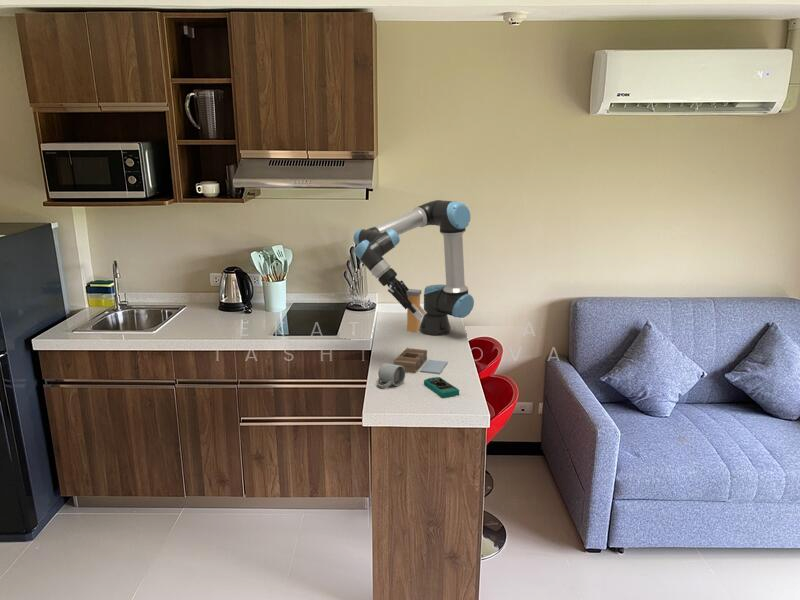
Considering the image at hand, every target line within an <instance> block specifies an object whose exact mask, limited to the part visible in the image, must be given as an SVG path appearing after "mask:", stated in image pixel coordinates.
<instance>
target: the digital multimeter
mask: <svg viewBox="0 0 800 600" xmlns="http://www.w3.org/2000/svg"><path fill="white" fill-rule="evenodd" d="M423 385H424V386H425V387H426V386H427V389H429V388H430V389H429V390H431V391H432V390H433V392H434V393H435V394H436V393H437V394H436V395H438V396H439V397H440V398H443V399H445V398H451V397H455V396H456V395H457V396H459V395H460V389H459V388H458V387H456V386H454V385H452V384H451V383H449V382H448V381H446V380H445V379H443V378H442V377H440V376H435V377H429V378H425V379H424V380H423Z"/></svg>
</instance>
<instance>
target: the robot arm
mask: <svg viewBox="0 0 800 600" xmlns="http://www.w3.org/2000/svg"><path fill="white" fill-rule="evenodd" d="M470 222H471V211H470V209H469V207H468V206H467V205H466V204H465V203H463V202H461V201H456V200H455V201H454V200H443V199H442V200H441V199H437V200H432V201H429V202H426V203H422V204H421V205H418V206H415V207H414V208H413V210H412V211H409V212H407V213H405V214H402V215H400V216H397V217H394V218H392V219H389V220H386V221H385V222H383V223H380V224H377V225H375V226H372V227H369V228H368V229H364V228H363V229H361V228H360V229H357V230H356V231H355V232H354V234H353V242H354V244H355V245H356V246H355V248H354V249H353V252H354V254H355V256H356V257H357V258H358V260H359V261H360V262H362V263H363V265H364V266H365V267H366V269H368V270H369V272H370V273H371V275H372V276H373V277H375V278H376V279H378V282H379V283H380V284H381V285H382V286H383V287H385V286H387V288H388V289H387V292H388V293H390V294H391V295H392V296H393V297H394V298H395V300H397V302H398V303H399V304H400V305H401V306H402V307H403V309H405V310H407V308H408V309H409V310H410V311H411V313H412V314H413V315H414V316H415V317H416V318H417V319H418V320H421V319H422V320H421V322H420V324H419V331H421V332H420V333H422V332H423V333H422V334H424V333H426V334H425V335H428V334H433V335H432V336H438V335H437V334H445V335H448V334H450V333H451V325H450V321H449V317H448V316H452V317H454V318H459V319H464V318H466V317H468V316H469V315H470V314H471V312H472V310H473V309H474V305H475V299H474V297H473V296H472V294H469V287H468V286H467V285H466V283H465V265H464V263H465V261H464V242H463V241H464V240H463V236H464V235H463V234H464V233H465V232H466V228H467V227H468V226H469V224H470ZM427 226H437V227H439V233H440V234H441V235H442V236H443V251H444V252H443V253H444V267H445V268H444V269H445V270H444V271H445V284H432V285H427V286H426V287H424V292H423V307H422V306H421V305H420V311H419V310H418V309H417V308H416V307H415V305H414V304H412V305H411V302H410V301H409V300H408V295H406V293H407V291H408V290H409V289H410V288H408V286H407V285H406V284H405V282H404V281H403V280H402V279H401V280H399V279H398V278H397V275H398V274H397V272H396V271H395V270H394V268H393V267H391V265H390V264H389V263H388V262H387V261H386V260H385V258H383V256H385V255H386V254H387V253H388V252H390V251H391V250H393V249H394V248H396V246H397V245H398V244H400V241H401V239H400V236H399V235H402V234H404V233H407V232H408V231H411V230H413V229H416V228H418V227H419V228H424V227H427ZM449 332H450V333H449ZM447 333H448V334H447Z"/></svg>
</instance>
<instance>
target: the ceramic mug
mask: <svg viewBox="0 0 800 600" xmlns="http://www.w3.org/2000/svg"><path fill="white" fill-rule="evenodd" d="M377 374H378V378H377V380H376V386H377V387H378V388H379V387H381V388H380V389H387V388H389V387H391V386H394V387H399V386H401V385H402V384H403V383H404V381H405V377H406V372H405V369H404V367H403V366H401V365H394V363H383V364H381V365H380V367H379V370H378V373H377ZM380 382H383V383H384V384H380Z"/></svg>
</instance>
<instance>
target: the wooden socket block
mask: <svg viewBox="0 0 800 600" xmlns="http://www.w3.org/2000/svg"><path fill="white" fill-rule="evenodd" d="M427 360H428V350H427V349H419V348H412V347H406V348H405V349H404V350H403V351H402V352H401V353H400V354H399V355H398V356H397V357H396V358H395V359H393V364H394V365H401V366H403V367H404V369H405V373H410V374H416V373H417V371H419V369H420V368H422V367H423V364H424V363H425V362H427Z"/></svg>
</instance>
